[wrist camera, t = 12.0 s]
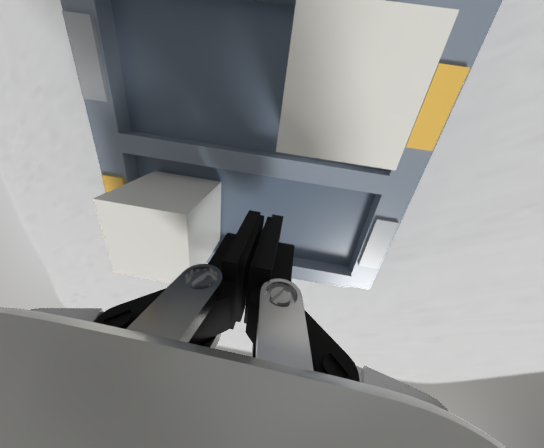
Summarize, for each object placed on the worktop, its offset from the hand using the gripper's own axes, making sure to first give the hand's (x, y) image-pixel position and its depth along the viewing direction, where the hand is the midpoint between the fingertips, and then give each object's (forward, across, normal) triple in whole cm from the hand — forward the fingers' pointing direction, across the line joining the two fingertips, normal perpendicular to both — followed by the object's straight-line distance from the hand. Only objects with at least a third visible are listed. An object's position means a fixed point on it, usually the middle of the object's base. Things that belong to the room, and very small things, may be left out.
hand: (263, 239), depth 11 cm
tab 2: (+3, -2, -6) cm, 8 cm away
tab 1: (+3, +5, 0) cm, 6 cm away
